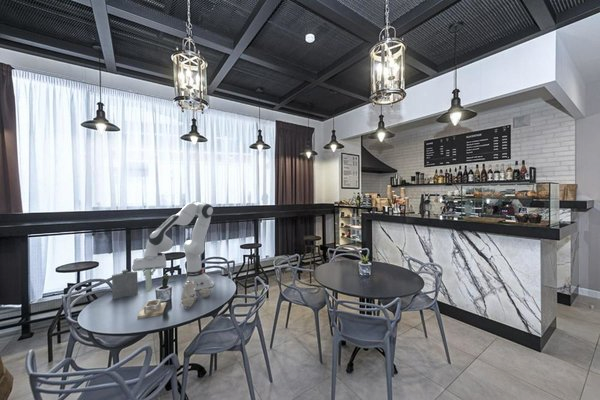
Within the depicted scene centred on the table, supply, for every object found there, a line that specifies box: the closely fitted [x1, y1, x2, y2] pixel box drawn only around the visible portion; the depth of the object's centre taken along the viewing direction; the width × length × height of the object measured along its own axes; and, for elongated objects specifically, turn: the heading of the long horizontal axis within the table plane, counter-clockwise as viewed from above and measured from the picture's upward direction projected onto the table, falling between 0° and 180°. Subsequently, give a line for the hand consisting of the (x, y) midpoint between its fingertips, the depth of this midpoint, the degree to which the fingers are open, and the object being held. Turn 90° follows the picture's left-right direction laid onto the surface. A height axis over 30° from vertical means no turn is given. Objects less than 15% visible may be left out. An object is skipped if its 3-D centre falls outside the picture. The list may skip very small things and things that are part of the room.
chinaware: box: [179, 279, 212, 310], centre depth 177 cm, size 28×17×17 cm, turn 168°
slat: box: [144, 269, 153, 293], centre depth 164 cm, size 2×5×14 cm, turn 20°
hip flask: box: [111, 269, 139, 300], centre depth 188 cm, size 16×4×20 cm, turn 121°
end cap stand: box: [137, 298, 167, 319], centre depth 163 cm, size 14×16×6 cm
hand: (148, 274), depth 163 cm, fingers closed on slat, 2 cm apart
